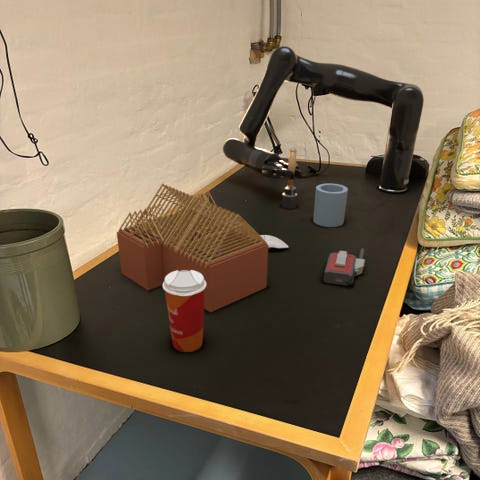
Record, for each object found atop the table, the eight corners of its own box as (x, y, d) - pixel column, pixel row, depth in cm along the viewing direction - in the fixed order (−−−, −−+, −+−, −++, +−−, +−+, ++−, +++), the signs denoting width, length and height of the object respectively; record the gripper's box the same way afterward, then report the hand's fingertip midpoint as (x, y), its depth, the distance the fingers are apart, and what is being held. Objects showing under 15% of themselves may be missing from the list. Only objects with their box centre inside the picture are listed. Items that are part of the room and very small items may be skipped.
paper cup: (168, 333, 98) (163, 268, 90) (207, 331, 98) (205, 267, 91) (166, 356, 91) (160, 289, 84) (208, 355, 92) (206, 288, 84)
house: (120, 272, 119) (110, 193, 109) (197, 246, 133) (195, 173, 122) (193, 320, 102) (189, 231, 92) (273, 284, 115) (277, 203, 105)
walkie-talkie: (359, 290, 113) (366, 254, 129) (362, 273, 111) (368, 238, 127) (321, 285, 115) (332, 250, 131) (323, 268, 113) (334, 234, 129)
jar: (314, 214, 153) (317, 182, 148) (344, 217, 152) (348, 184, 147) (311, 225, 146) (314, 191, 141) (343, 228, 144) (347, 194, 139)
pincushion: (289, 244, 134) (290, 224, 131) (287, 254, 129) (288, 233, 126) (245, 241, 136) (245, 221, 133) (241, 250, 131) (241, 230, 128)
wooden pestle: (283, 203, 162) (286, 145, 152) (297, 204, 161) (301, 146, 151) (281, 208, 158) (284, 149, 148) (295, 209, 157) (299, 150, 147)
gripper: (247, 153, 159) (279, 166, 146) (282, 148, 165) (316, 160, 153) (246, 177, 163) (278, 191, 151) (280, 170, 169) (314, 184, 157)
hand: (297, 175), depth 152 cm, fingers closed on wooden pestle
